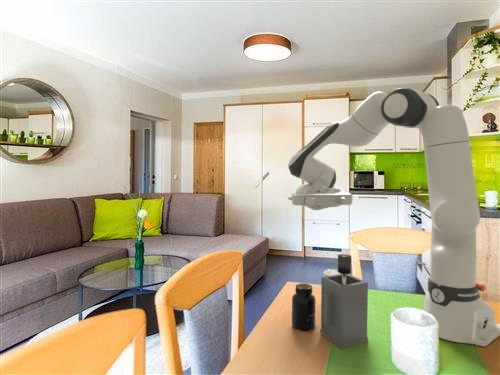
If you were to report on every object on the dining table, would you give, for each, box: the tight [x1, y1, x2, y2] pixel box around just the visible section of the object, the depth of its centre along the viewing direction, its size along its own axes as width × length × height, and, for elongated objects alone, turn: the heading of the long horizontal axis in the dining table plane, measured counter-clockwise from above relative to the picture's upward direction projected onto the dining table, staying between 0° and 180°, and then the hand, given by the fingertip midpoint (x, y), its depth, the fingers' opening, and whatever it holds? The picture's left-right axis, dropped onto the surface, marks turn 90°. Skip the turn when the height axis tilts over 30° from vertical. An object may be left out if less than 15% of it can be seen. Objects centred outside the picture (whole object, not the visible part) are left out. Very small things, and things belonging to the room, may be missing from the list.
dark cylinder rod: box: [336, 253, 352, 285], centre depth 89 cm, size 6×6×17 cm
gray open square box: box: [319, 274, 369, 350], centre depth 89 cm, size 11×9×16 cm
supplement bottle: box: [291, 283, 316, 332], centre depth 96 cm, size 7×7×12 cm
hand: (329, 201), depth 103 cm, fingers open, 8 cm apart
